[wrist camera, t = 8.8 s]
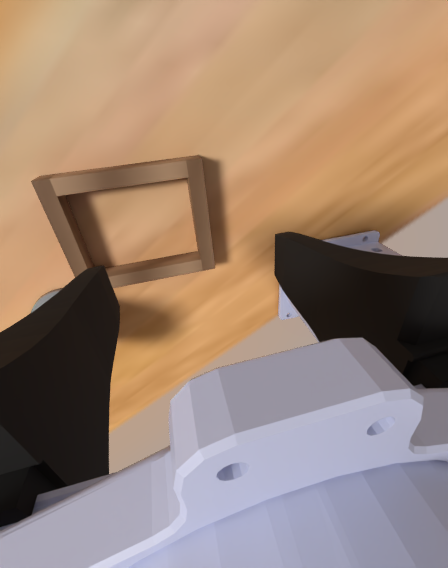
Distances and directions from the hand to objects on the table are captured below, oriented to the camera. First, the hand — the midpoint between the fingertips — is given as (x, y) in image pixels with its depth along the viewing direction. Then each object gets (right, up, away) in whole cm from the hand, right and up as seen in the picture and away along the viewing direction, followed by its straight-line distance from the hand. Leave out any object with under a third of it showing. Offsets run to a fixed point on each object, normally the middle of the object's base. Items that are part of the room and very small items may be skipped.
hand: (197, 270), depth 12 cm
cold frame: (-5, +4, +8) cm, 10 cm away
